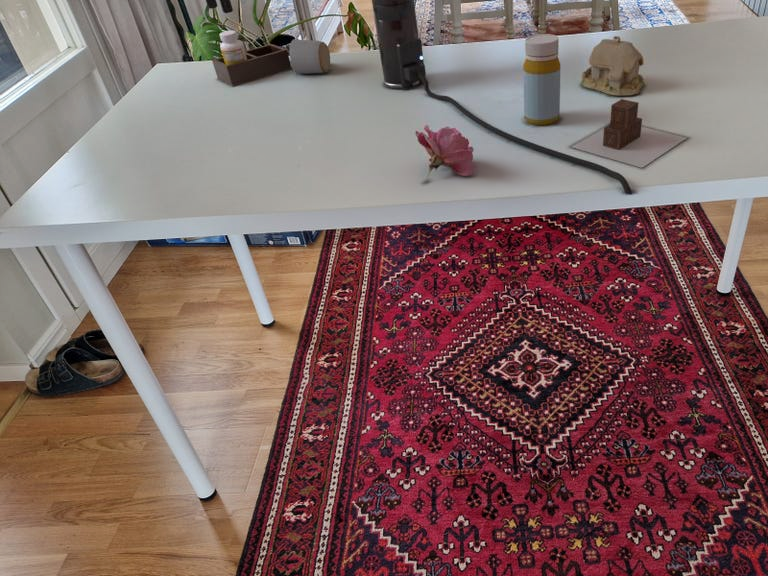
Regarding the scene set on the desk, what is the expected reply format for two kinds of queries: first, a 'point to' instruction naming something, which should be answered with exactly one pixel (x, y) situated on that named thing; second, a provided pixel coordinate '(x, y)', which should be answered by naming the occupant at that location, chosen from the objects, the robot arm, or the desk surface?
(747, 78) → the desk surface
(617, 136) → the stack of crates
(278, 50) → the compartment organizer
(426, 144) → the flower
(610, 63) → the ceramic model
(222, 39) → the supplement bottle
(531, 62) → the bottle
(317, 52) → the ceramic mug
